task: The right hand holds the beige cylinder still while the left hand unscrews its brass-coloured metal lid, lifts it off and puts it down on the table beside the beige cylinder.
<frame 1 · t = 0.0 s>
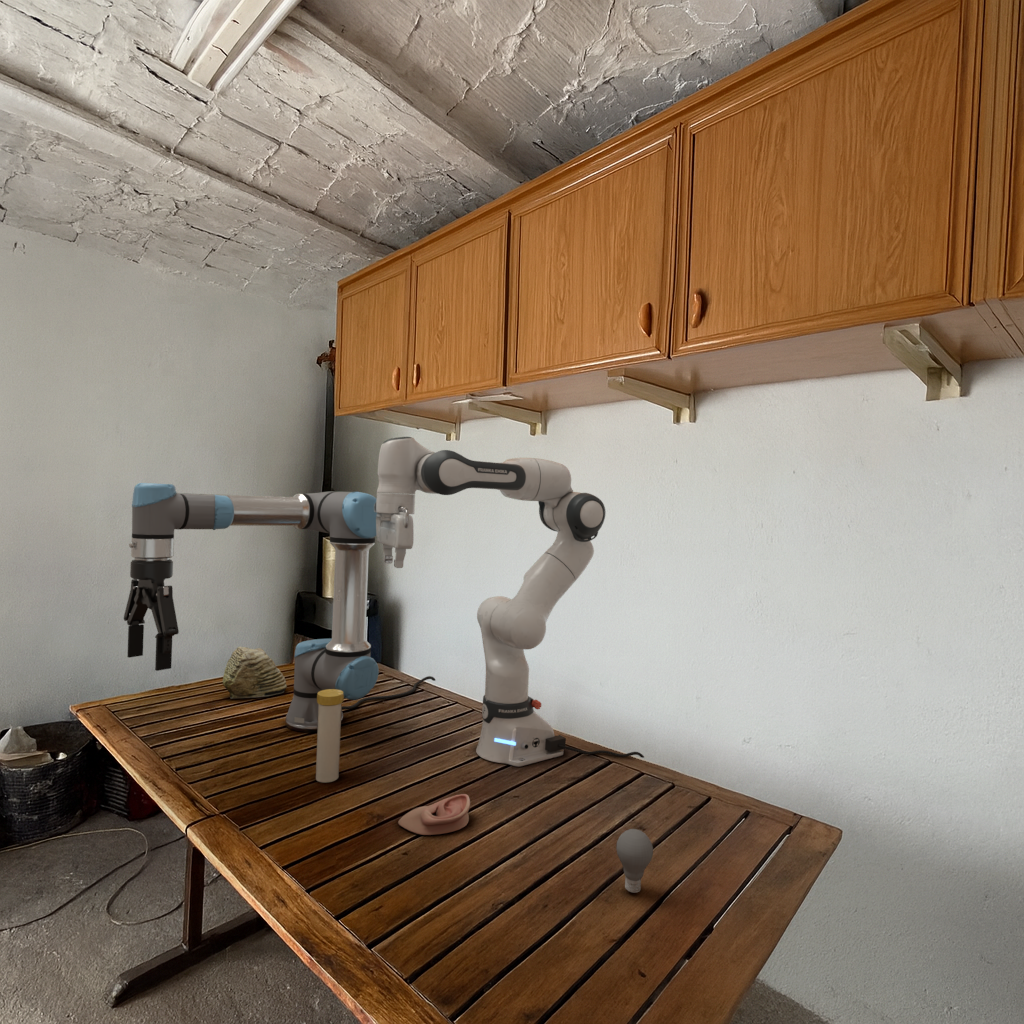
left hand: (148, 662, 129), 28 cm above the table, tool pointing down, fingers open, 13 cm apart
right hand: (393, 565, 148), 48 cm above the table, tool pointing down, fingers open, 8 cm apart
lid: (330, 694, 143), point 19 cm above the table, screwed on, not yet turned
light bulb: (632, 891, 106), on the table
anatomical model: (434, 822, 125), on the table
beige cylinder: (327, 777, 143), on the table
fossil: (254, 694, 198), on the table
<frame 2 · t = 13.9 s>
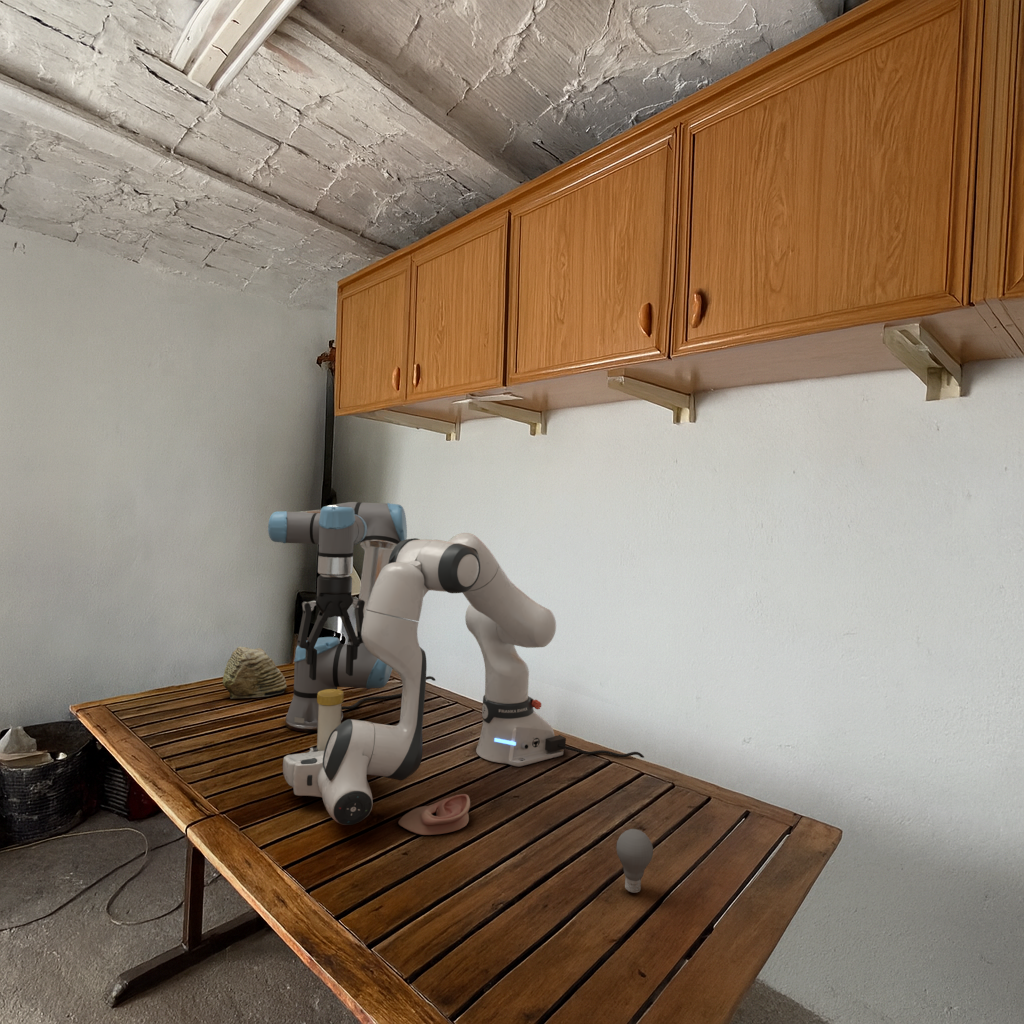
left hand: (331, 676, 142), 23 cm above the table, tool pointing down, fingers open, 8 cm apart
right hand: (327, 748, 144), 6 cm above the table, tool horizontal, fingers closed on beige cylinder, 5 cm apart
beige cylinder: (327, 777, 143), on the table, touching right hand
everything else where it was.
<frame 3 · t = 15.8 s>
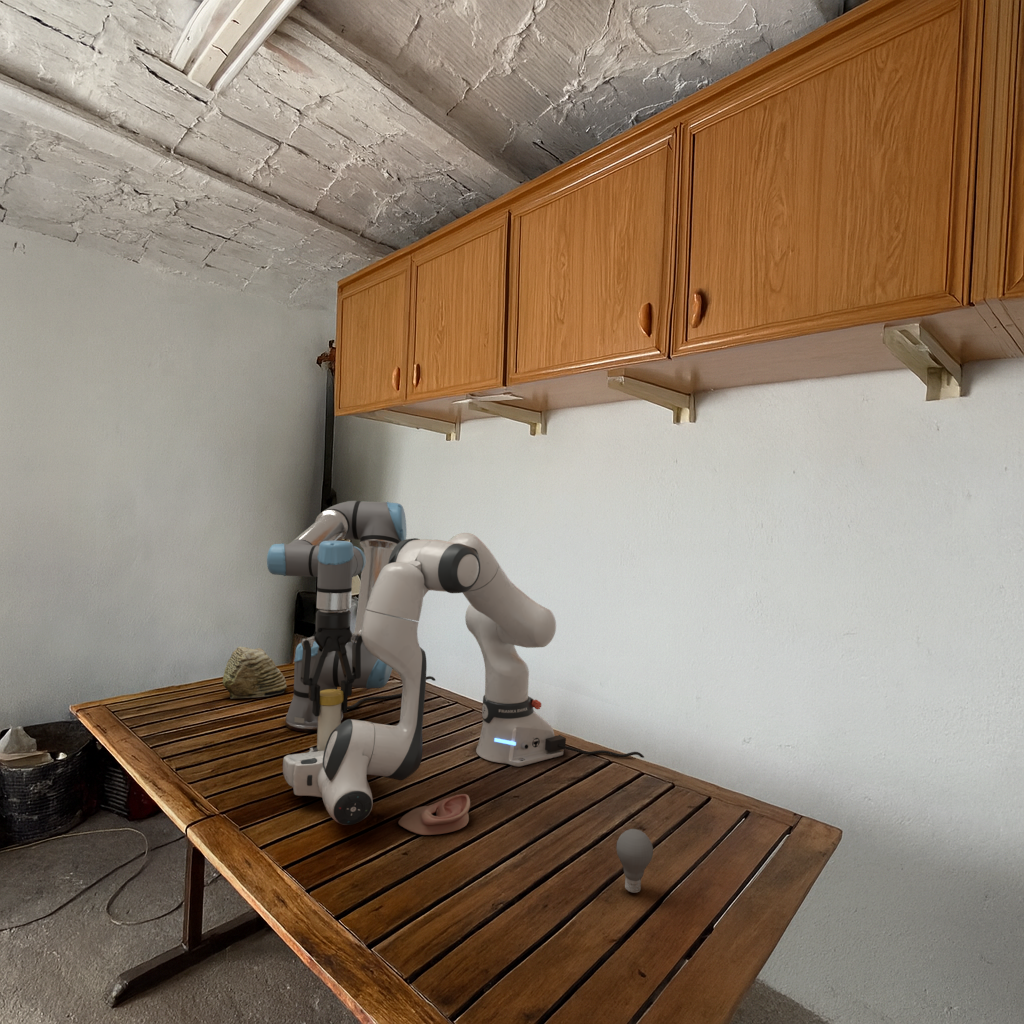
left hand: (329, 712, 143), 15 cm above the table, tool pointing down, fingers closed on lid, 6 cm apart
right hand: (327, 748, 144), 6 cm above the table, tool horizontal, fingers closed on beige cylinder, 5 cm apart
lid: (330, 694, 142), point 19 cm above the table, screwed on, not yet turned, touching left hand
beige cylinder: (327, 777, 143), on the table, touching right hand
everything else where it was.
when the left hand's fingers open (15 cm above the table, at t = 17.0 s): lid stays where it is, point 19 cm above the table.
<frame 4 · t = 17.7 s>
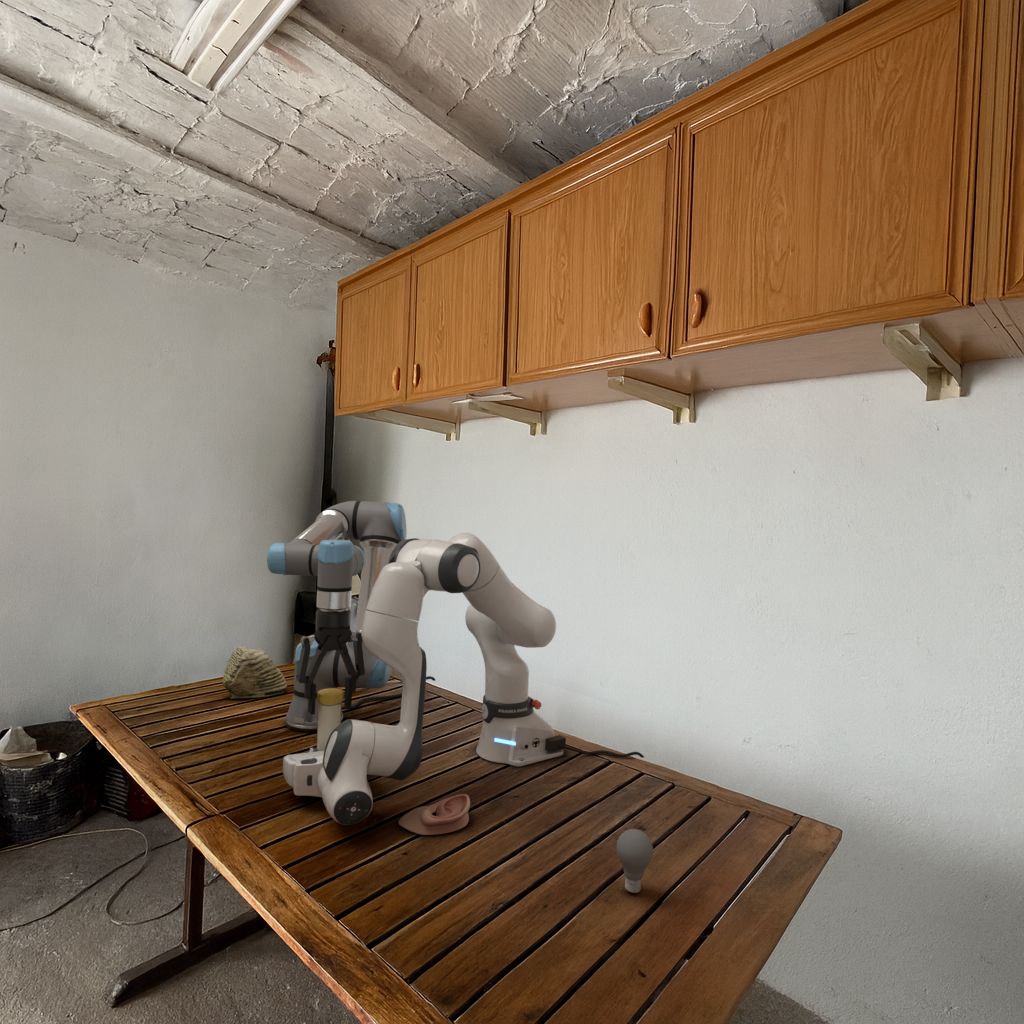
left hand: (329, 709, 143), 15 cm above the table, tool pointing down, fingers open, 8 cm apart
right hand: (327, 749, 143), 6 cm above the table, tool horizontal, fingers closed on beige cylinder, 5 cm apart
lid: (330, 693, 142), point 19 cm above the table, turned 66° so far, risen 0.2 cm, still on its thread
beige cylinder: (327, 777, 143), on the table, touching right hand
everything else where it was.
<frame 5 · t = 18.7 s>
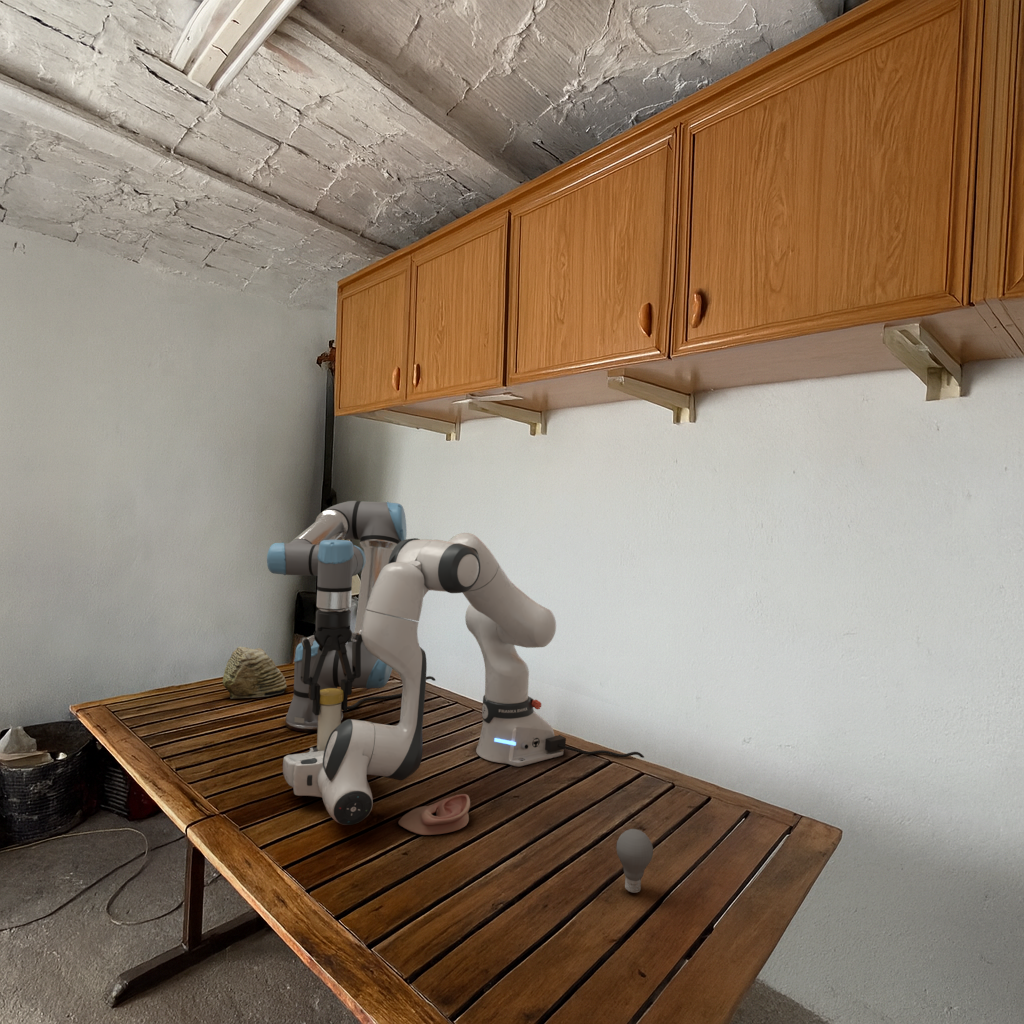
left hand: (329, 711, 143), 15 cm above the table, tool pointing down, fingers closed on lid, 6 cm apart
right hand: (327, 749, 143), 6 cm above the table, tool horizontal, fingers closed on beige cylinder, 5 cm apart
lid: (330, 693, 142), point 19 cm above the table, turned 66° so far, risen 0.2 cm, still on its thread, touching left hand
beige cylinder: (327, 777, 143), on the table, touching right hand
everything else where it was.
when the left hand's fingers open (0 cm above the table, at t = 24.6 s): lid drops 3 cm, point 2 cm above the table.
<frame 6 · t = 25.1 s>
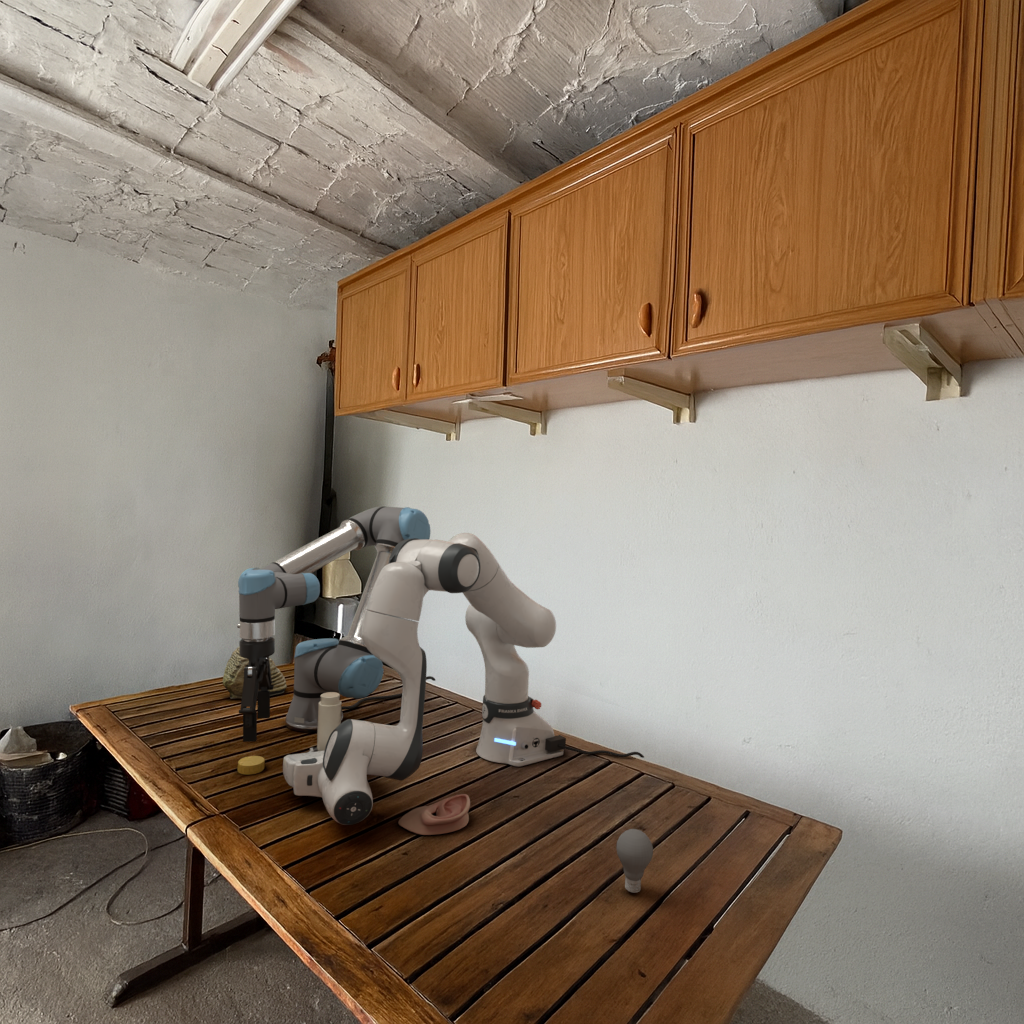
left hand: (257, 729, 146), 9 cm above the table, tool pointing down, fingers open, 13 cm apart
right hand: (327, 748, 143), 6 cm above the table, tool horizontal, fingers closed on beige cylinder, 5 cm apart
lid: (251, 762, 145), point 2 cm above the table, off its thread
beige cylinder: (327, 777, 143), on the table, touching right hand
everything else where it was.
when the right hand's fingers open (6 cm above the table, at t = 25.3 s): beige cylinder stays where it is, on the table.
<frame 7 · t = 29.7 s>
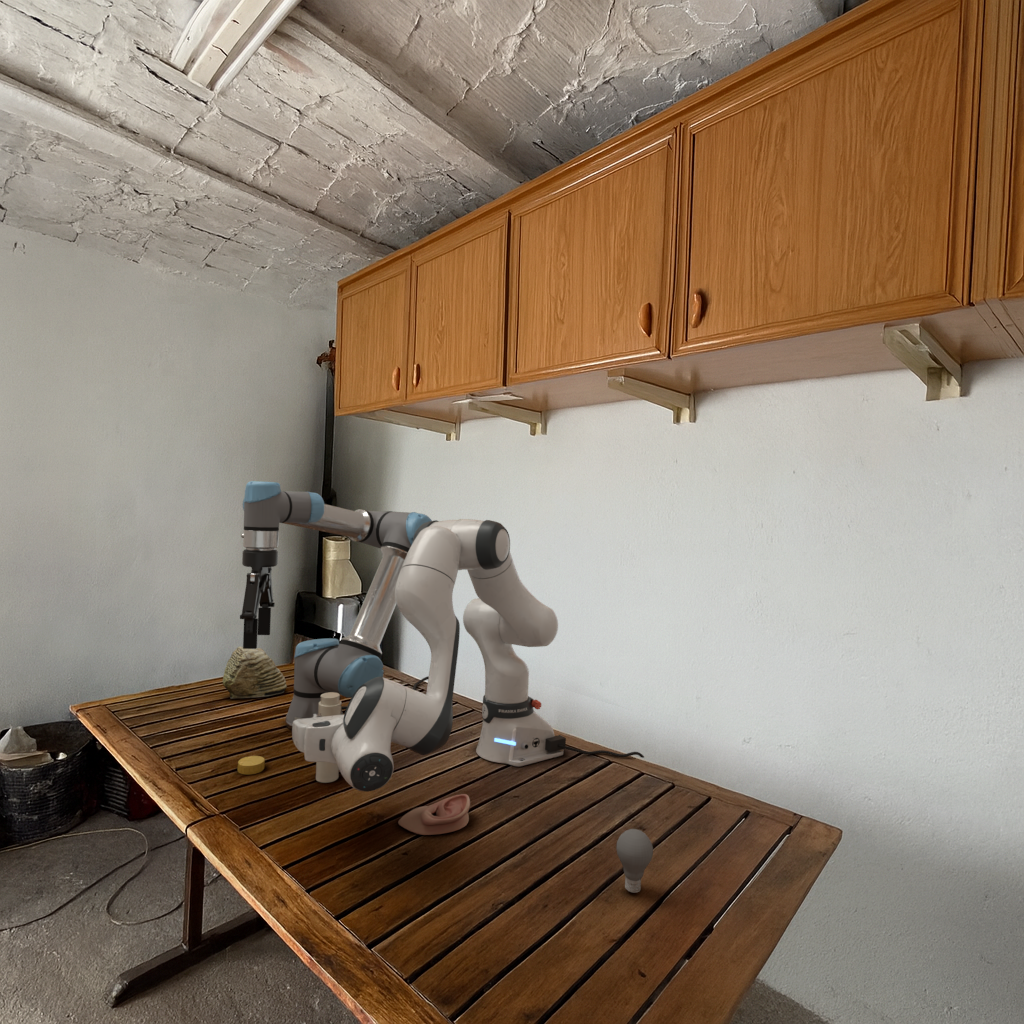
left hand: (257, 641, 145), 29 cm above the table, tool pointing down, fingers open, 13 cm apart
right hand: (340, 714, 131), 18 cm above the table, tool horizontal, fingers open, 8 cm apart
beige cylinder: (327, 777, 143), on the table
everything else where it was.
at the end: lid came off its thread; lid point 1.6 cm above the table; the left hand is holding nothing; the right hand is holding nothing; beige cylinder tilted 0°; beige cylinder moved 0.1 cm from its start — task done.
